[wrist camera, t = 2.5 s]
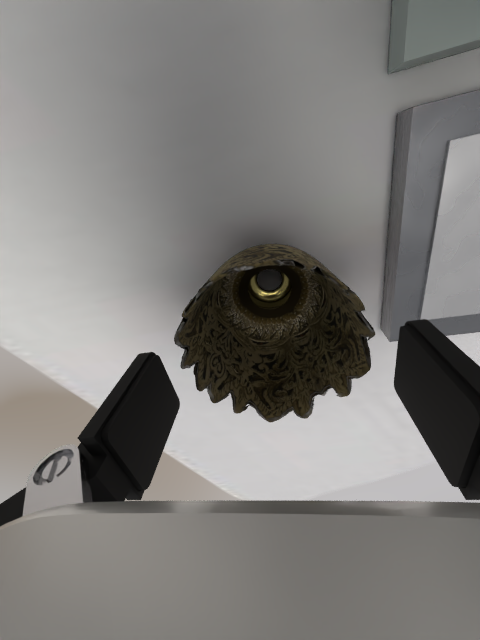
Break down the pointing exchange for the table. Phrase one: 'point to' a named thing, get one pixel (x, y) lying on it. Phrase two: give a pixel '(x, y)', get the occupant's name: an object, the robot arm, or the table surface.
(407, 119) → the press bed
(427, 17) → the press stand
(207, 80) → the table surface
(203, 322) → the wire cup brush
